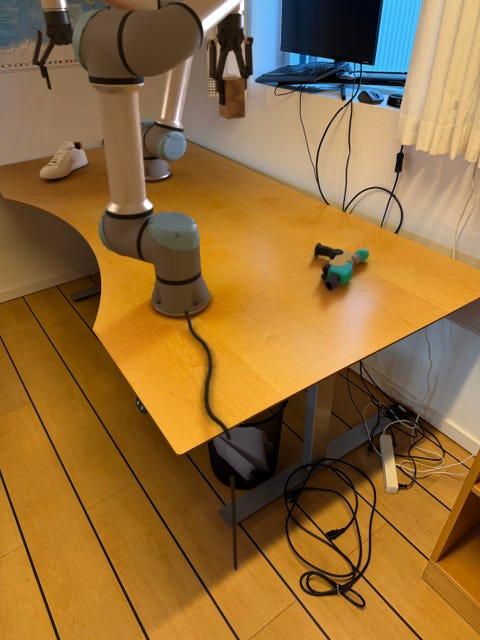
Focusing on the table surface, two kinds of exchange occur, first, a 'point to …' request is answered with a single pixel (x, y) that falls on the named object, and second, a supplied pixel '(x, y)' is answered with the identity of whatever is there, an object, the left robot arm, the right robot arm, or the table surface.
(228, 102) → the brick
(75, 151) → the sneaker
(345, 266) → the toy gun
